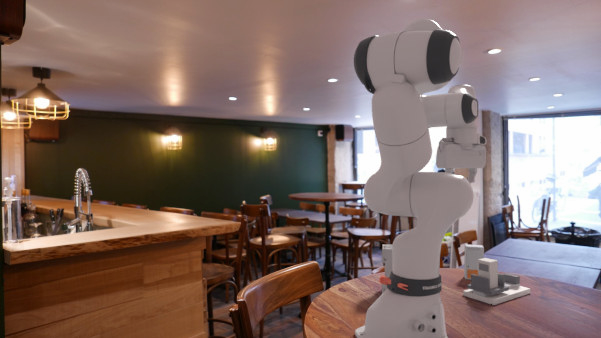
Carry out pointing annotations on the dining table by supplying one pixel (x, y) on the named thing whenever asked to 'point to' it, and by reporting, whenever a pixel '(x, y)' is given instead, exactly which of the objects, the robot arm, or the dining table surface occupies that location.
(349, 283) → the dining table surface
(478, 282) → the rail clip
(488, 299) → the board
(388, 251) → the circuit breaker
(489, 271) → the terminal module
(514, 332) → the dining table surface
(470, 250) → the skincare box
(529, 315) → the dining table surface
